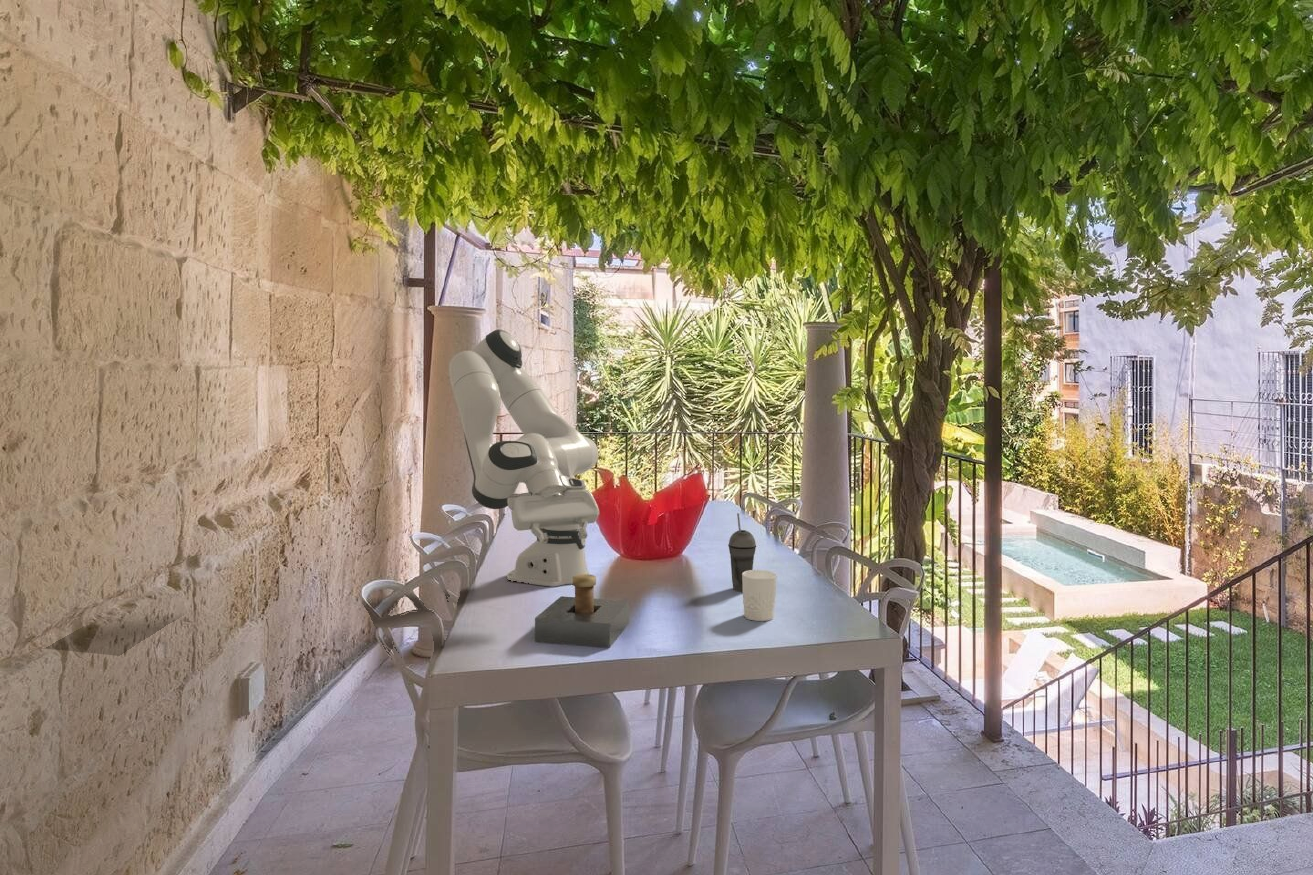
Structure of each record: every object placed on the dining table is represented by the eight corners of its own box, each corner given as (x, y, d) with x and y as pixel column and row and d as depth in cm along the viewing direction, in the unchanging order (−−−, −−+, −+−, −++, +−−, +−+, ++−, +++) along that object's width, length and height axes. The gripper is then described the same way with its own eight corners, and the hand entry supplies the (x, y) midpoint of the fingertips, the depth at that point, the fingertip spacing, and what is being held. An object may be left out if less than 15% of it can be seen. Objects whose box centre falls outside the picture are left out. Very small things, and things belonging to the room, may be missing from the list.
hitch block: (535, 641, 150) (534, 617, 150) (561, 617, 166) (561, 596, 165) (609, 647, 147) (609, 623, 147) (629, 622, 162) (629, 600, 162)
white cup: (738, 611, 171) (739, 570, 170) (771, 611, 172) (772, 569, 171) (745, 622, 163) (746, 578, 162) (779, 621, 164) (780, 578, 163)
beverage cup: (754, 593, 186) (755, 516, 184) (726, 592, 187) (727, 515, 186) (756, 586, 193) (757, 511, 192) (729, 584, 194) (730, 510, 193)
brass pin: (569, 635, 154) (569, 579, 154) (576, 627, 159) (576, 573, 158) (592, 636, 153) (592, 580, 153) (598, 629, 158) (598, 574, 157)
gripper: (507, 486, 164) (522, 536, 156) (591, 480, 174) (609, 526, 166) (502, 503, 168) (516, 552, 160) (584, 496, 178) (601, 542, 170)
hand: (564, 539), depth 163 cm, fingers open, 8 cm apart
